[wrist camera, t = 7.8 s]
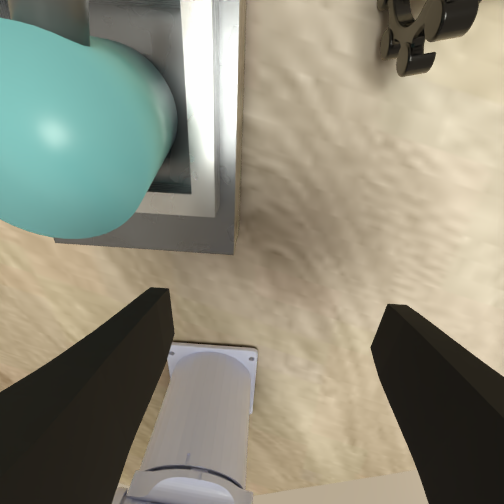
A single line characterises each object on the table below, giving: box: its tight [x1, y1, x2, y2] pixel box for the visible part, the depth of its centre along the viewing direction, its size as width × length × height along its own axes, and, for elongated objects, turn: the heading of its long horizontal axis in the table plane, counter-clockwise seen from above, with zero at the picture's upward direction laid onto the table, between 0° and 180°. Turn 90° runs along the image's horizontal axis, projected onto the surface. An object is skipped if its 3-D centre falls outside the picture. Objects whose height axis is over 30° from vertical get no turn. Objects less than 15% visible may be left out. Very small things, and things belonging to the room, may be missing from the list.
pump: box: [0, 0, 178, 239], centre depth 8 cm, size 6×5×6 cm
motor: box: [0, 0, 246, 255], centre depth 12 cm, size 16×10×5 cm, turn 177°
